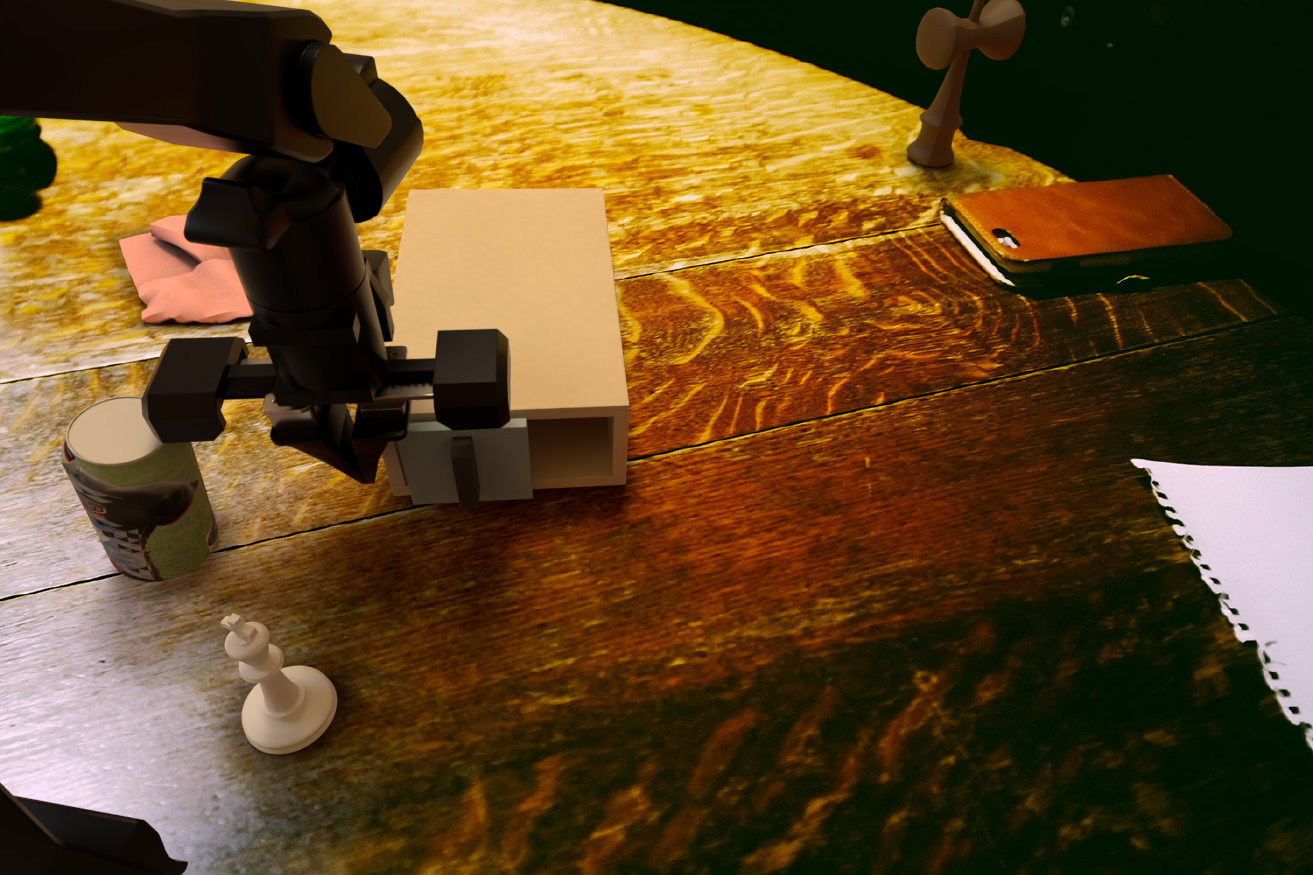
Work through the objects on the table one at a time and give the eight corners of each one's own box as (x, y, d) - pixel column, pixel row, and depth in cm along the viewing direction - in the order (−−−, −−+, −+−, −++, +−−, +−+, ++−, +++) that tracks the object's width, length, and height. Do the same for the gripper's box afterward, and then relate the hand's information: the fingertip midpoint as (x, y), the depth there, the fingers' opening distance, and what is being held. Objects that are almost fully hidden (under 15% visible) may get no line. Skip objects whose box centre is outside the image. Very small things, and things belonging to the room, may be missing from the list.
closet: (625, 484, 58) (629, 405, 52) (393, 496, 56) (369, 415, 50) (602, 266, 76) (602, 187, 70) (423, 269, 74) (409, 189, 68)
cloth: (126, 347, 65) (113, 323, 63) (117, 205, 78) (105, 182, 76) (388, 290, 71) (382, 267, 70) (339, 168, 84) (333, 146, 83)
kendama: (978, 164, 92) (1051, -30, 78) (911, 180, 89) (974, -20, 74) (944, 139, 96) (1007, -51, 81) (878, 154, 93) (931, -42, 78)
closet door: (533, 519, 55) (526, 448, 50) (410, 526, 54) (390, 454, 49) (532, 489, 57) (526, 417, 52) (414, 495, 56) (395, 422, 51)
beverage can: (136, 515, 54) (47, 383, 45) (253, 509, 55) (188, 379, 46) (104, 598, 50) (-1, 470, 41) (231, 590, 51) (155, 463, 42)
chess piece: (299, 769, 44) (239, 683, 36) (223, 733, 45) (151, 642, 37) (355, 688, 47) (311, 595, 40) (283, 657, 48) (227, 560, 41)
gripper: (500, 186, 47) (519, 384, 58) (151, 189, 45) (242, 394, 56) (497, 310, 39) (519, 509, 51) (78, 322, 37) (200, 526, 49)
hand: (369, 478), depth 52 cm, fingers closed
